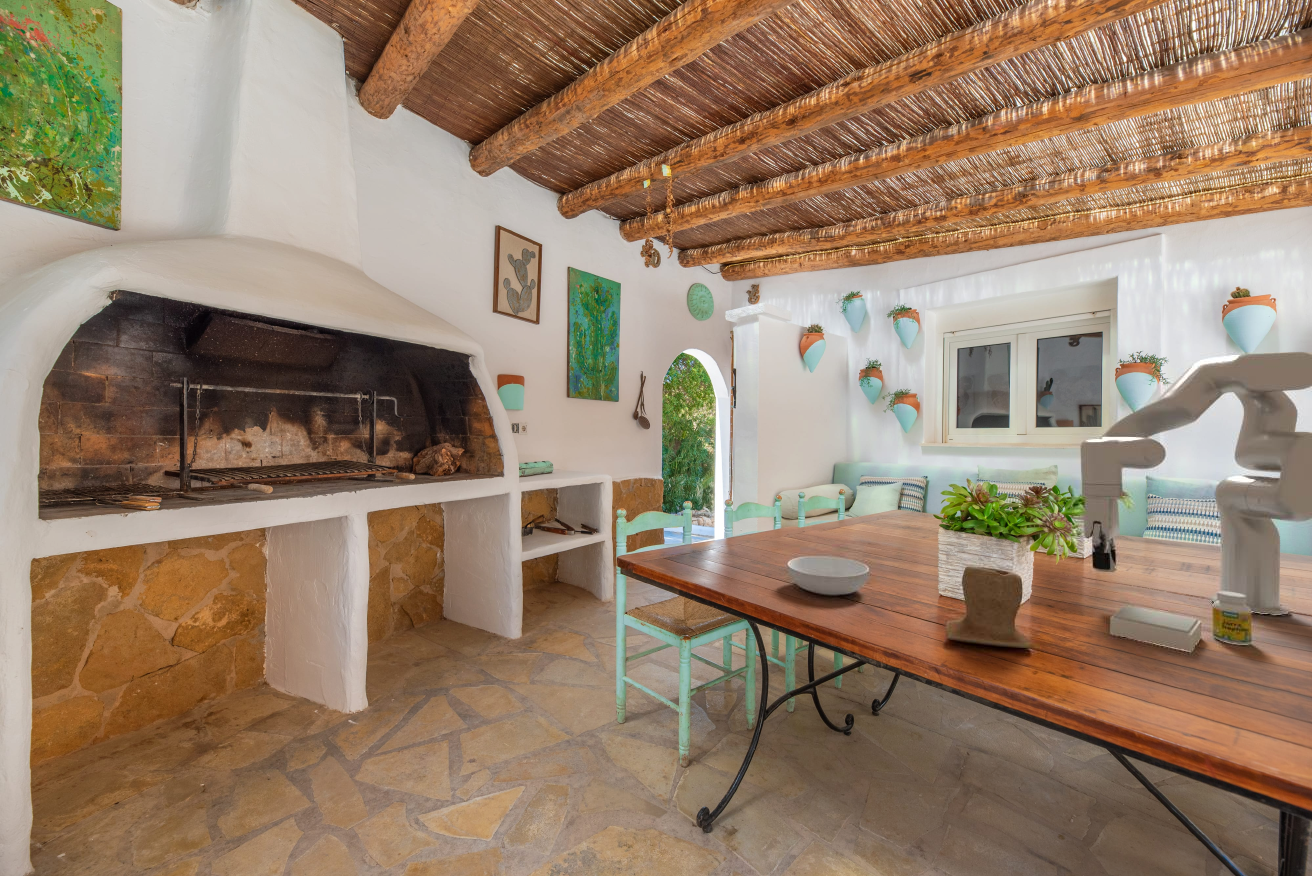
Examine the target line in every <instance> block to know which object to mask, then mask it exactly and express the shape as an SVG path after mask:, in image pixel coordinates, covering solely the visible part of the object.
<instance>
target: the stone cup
mask: <svg viewBox="0 0 1312 876" xmlns="http://www.w3.org/2000/svg"><path fill="white" fill-rule="evenodd" d="M961 585H962V591H963V598H964V602H965V603H964V604H965V611H966V614H965V616H964V617H963V618H962V619H959V620H954V619H953V620H947V621H946V623H945V635H946V639H947V640H950V641H957V642H962V643H963V642H964V643H969V644H976V645H977V644H978V645H982V646H983V645H984V646H994V647H1005V648H1006V647H1007V648H1018V649H1020V648H1021V649H1022V648H1023V649H1026V648H1027V649H1028V648H1030V647H1031V645H1032V642H1031V640H1030V638H1028V636H1026V635H1025V634H1024V633H1022V632H1020V631H1018V630H1017V628H1016V617H1017V614H1018V612H1019V609H1020V606H1021V603H1022V601H1023V591H1024V590H1023V580H1022V577H1021V576H1020V575H1019V574H1018V573H1015V572H1013V571H1009V570H1005V569H999V568H991V567H984V566H983V567H982V566H974V565H973V566H972V565H967V566H966V567H965V568H964V571H963V573H962V578H961Z"/></svg>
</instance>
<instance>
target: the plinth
mask: <svg viewBox="0 0 1312 876" xmlns="http://www.w3.org/2000/svg"><path fill="white" fill-rule="evenodd" d="M1109 618H1110V619H1109V621H1110V622H1109V635H1110V634H1111V636H1114V635H1115V637H1118V636H1121V637H1120V638H1122V637H1127V638H1131V639H1136V640H1141V641H1147V642H1151V643H1156V644H1160V645H1165V646H1169V647H1174V648H1178V649H1184V650H1187V651H1192V649H1193V648H1194V646H1195V645H1196V643H1197V642H1198V640H1199V639H1200V637H1201V638H1202V621H1201V620H1198V618H1195V617H1190V616H1185V615H1181V614H1175V613H1169V612H1166V611H1165V612H1164V611H1159V610H1155V609H1150V608H1146V607H1145V608H1143V607H1140V606H1139V607H1138V606H1133V605H1129V604H1127V605H1125V606H1123V607H1122V608H1120V610H1118V611H1117V612H1115V614H1113V615H1112V616H1110V617H1109ZM1127 638H1126V639H1127ZM1131 639H1130V640H1131ZM1200 640H1201V639H1200ZM1198 643H1199V642H1198ZM1196 646H1197V645H1196ZM1194 649H1195V648H1194ZM1192 652H1193V651H1192Z"/></svg>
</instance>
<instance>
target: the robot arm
mask: <svg viewBox="0 0 1312 876" xmlns="http://www.w3.org/2000/svg"><path fill="white" fill-rule="evenodd" d="M1310 387H1312V354H1311V353H1308V352H1304V351H1290V352H1271V353H1245V354H1244V353H1243V354H1236V355H1235V354H1234V355H1233V354H1232V355H1227V356H1219V357H1211V358H1206V359H1203V360H1200V361H1198V362H1195V363H1193V364H1192V365H1191V366H1190V367H1189V368H1187V370H1186V371H1184V372H1183V373H1182V375H1181V376H1180V377H1179V378H1177V380H1176V381H1174V383H1172V384H1171V385H1170V387H1168V389H1166V390H1165V392H1163V393H1162V395H1161V396H1159V397H1158V398H1157V399H1155V401H1152V402H1151V403H1149V404H1146V405H1144V406H1143V407H1141V408H1139V409H1137V410H1136V411H1134V412H1132V413H1129V414H1128V415H1127V416H1124V417H1123V418H1120V420H1118V421H1116V422H1115V423H1114V424H1113V425H1112V426H1111V427H1109V429H1107V430H1106V431H1105V432H1104V433H1103V434H1102V436H1101V437H1100V438H1099V439H1097V438H1096V439H1086V440H1084V441H1082V442H1081V444H1080V469H1081V470H1080V472H1081V473H1080V474H1081V475H1080V476H1081V478H1080V479H1081V497H1083V498H1084V499H1085V500H1084V511H1083V537H1084V538H1085V539H1090V538H1091V543H1092V544H1091V545H1092V547H1091V550H1092V552H1091V553H1092V555H1091V557H1092V568H1093V569H1094V568H1097V569H1104V570H1110V553H1108V540H1111V541H1112V543H1111V544H1110V547H1111V549H1110V552H1111V557H1112V560H1113V562H1114V563H1115V564H1116V565H1117V553H1116V551H1117V550H1116V542H1115V541H1116V540H1115V539H1116V538H1115V537H1117V536H1118V535H1119V532H1120V515H1119V502H1118V499H1123V497H1124V496H1123V495H1124V493H1123V469H1131V470H1132V469H1133V470H1149V469H1154V468H1155V467H1158V466H1160V465H1161V464H1162V463H1163V462H1164V460H1165V458H1166V456H1167V453H1166V452H1167V451H1166V448H1165V446H1164V445H1163V444H1162V443H1161V442H1159V441H1157V440H1156V439H1152V438H1150V437H1153V436H1154V435H1157V434H1160V433H1164V432H1168V431H1172V430H1176V429H1178V428H1179V429H1180V428H1182V427H1185V426H1187V425H1190V424H1193V423H1194V422H1196V421H1197V420H1198V419H1199V418H1200V417H1201V416H1202V415H1203V414H1204V413H1205V412H1206V411H1207V410H1208V409H1209V408H1210V407H1211V406H1212V405H1213V404H1214V403H1215V402H1217V401H1218V400H1219V399H1220V398H1221V397H1222V396H1223V395H1225V394H1228V393H1234V395H1235V396H1236V397H1237V399H1238V400H1239V401H1240V403H1241V405H1242V408H1243V418H1242V423H1241V426H1240V431H1239V434H1238V438H1237V441H1236V446H1235V448H1234V449H1235V451H1234V460H1235V462H1236V464H1237V465H1238V466H1240V467H1241V468H1243V469H1246V470H1249V471H1250V470H1251V471H1257V472H1265V473H1266V472H1268V473H1280V474H1279V477H1272V476H1260V475H1241V474H1240V475H1233V476H1229V477H1225V479H1222V480H1221V481H1220V482H1219V483H1218V484H1217V485H1216V488H1215V491H1214V496H1215V497H1214V498H1215V499H1214V500H1215V502H1216V503H1215V504H1216V506H1217V510H1218V514H1219V521H1220V522H1219V523H1220V576H1219V577H1220V578H1219V579H1220V580H1219V581H1220V583H1219V585H1220V586H1219V587H1220V589H1219V591H1227V592H1235V593H1239V594H1243V595H1245V596H1246V603H1245V604H1244V605H1246V606H1248V607H1249V608H1250V609H1251V611H1254V612H1260V613H1268V614H1285V613H1288V612H1289V611H1290V608H1289V607H1287V606H1286V605H1283V604H1281V603H1280V586H1281V585H1280V578H1281V577H1280V573H1281V572H1280V570H1281V569H1280V568H1281V566H1280V565H1281V536H1280V532H1279V529H1278V527H1277V525H1276V524H1275V523H1274V521H1273V520H1279V521H1285V522H1286V521H1287V522H1298V523H1299V522H1306V521H1309V520H1312V432H1309V431H1296V428H1297V427H1296V426H1297V422H1298V421H1297V420H1298V413H1299V412H1298V409H1297V407H1296V404H1295V403H1294V402H1293V400H1292V399H1291V398H1290V397H1289V396H1288V395H1287V394H1286V393H1285V392H1286V391H1287V392H1289V391H1301V390H1305V389H1309V388H1310ZM1100 537H1103V538H1105V539H1100ZM1101 542H1104V544H1103V543H1101ZM1211 600H1212V601H1213V602H1216V601H1219V599H1218V598H1217V594H1213V595H1212V596H1211V597H1210V601H1211ZM1212 601H1211V602H1212ZM1213 602H1212V603H1213Z"/></svg>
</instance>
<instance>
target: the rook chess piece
mask: <svg viewBox="0 0 1312 876" xmlns="http://www.w3.org/2000/svg"><path fill="white" fill-rule="evenodd" d="M1100 539H1105V538H1103V537H1100ZM1101 543H1103V544H1104V542H1101ZM1111 543H1112V541H1111V540H1108V553H1110V570H1104V569H1097V568H1093V569H1094V571H1097V572H1102V573H1115V572H1116V571H1117V570H1118V569H1117V568H1116V567H1117V563H1116V564H1115V563H1114V562H1113V560H1112V557H1111V552H1110V549H1111V547H1110V544H1111Z"/></svg>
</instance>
